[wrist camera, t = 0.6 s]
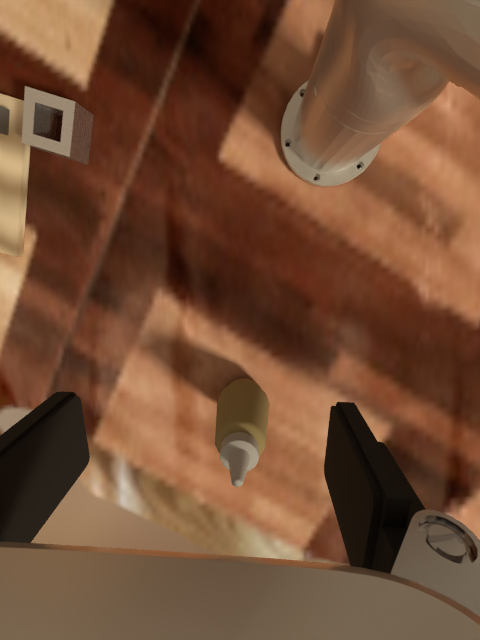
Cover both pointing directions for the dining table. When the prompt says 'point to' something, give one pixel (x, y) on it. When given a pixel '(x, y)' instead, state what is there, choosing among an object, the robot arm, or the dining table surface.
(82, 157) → the link
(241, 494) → the dining table surface
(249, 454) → the squeeze bottle
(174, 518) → the dining table surface
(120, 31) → the dining table surface
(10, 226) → the peg board
